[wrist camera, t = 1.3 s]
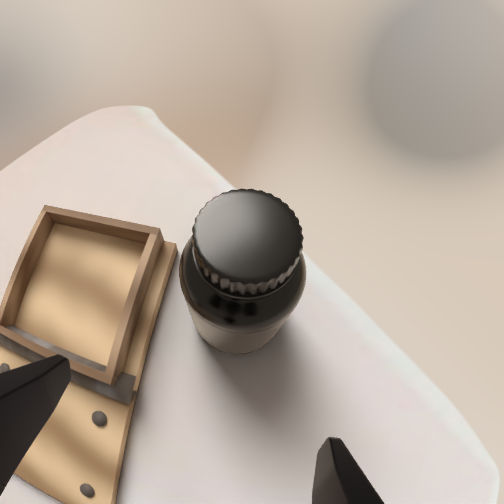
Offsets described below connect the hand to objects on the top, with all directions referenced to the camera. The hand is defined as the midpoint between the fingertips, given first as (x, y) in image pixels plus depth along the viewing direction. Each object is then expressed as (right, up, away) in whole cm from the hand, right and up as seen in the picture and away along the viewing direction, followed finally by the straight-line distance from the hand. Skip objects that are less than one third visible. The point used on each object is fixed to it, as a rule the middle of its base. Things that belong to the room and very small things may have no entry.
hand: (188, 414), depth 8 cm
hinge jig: (-13, -4, +12) cm, 18 cm away
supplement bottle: (+1, 0, +15) cm, 15 cm away
